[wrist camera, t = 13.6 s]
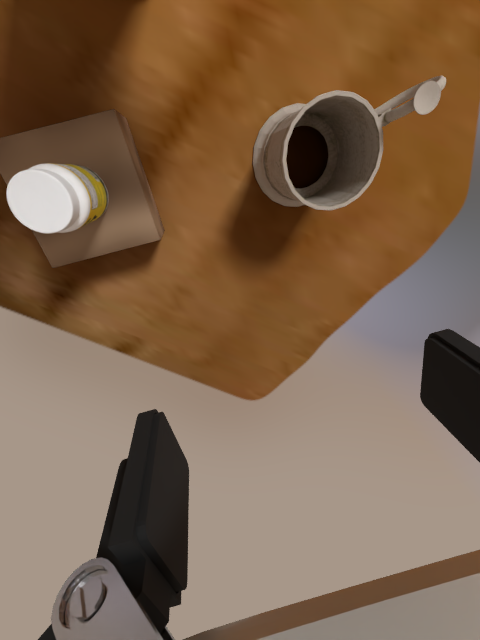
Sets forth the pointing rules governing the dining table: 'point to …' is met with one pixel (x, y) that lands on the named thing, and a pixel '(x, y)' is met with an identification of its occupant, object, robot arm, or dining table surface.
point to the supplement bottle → (56, 197)
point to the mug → (335, 143)
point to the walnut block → (109, 164)
